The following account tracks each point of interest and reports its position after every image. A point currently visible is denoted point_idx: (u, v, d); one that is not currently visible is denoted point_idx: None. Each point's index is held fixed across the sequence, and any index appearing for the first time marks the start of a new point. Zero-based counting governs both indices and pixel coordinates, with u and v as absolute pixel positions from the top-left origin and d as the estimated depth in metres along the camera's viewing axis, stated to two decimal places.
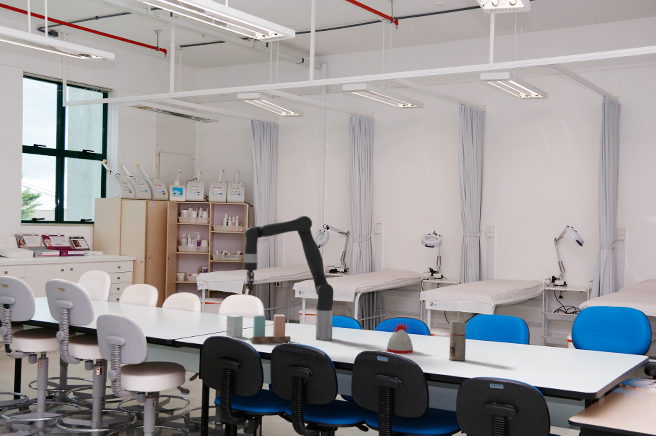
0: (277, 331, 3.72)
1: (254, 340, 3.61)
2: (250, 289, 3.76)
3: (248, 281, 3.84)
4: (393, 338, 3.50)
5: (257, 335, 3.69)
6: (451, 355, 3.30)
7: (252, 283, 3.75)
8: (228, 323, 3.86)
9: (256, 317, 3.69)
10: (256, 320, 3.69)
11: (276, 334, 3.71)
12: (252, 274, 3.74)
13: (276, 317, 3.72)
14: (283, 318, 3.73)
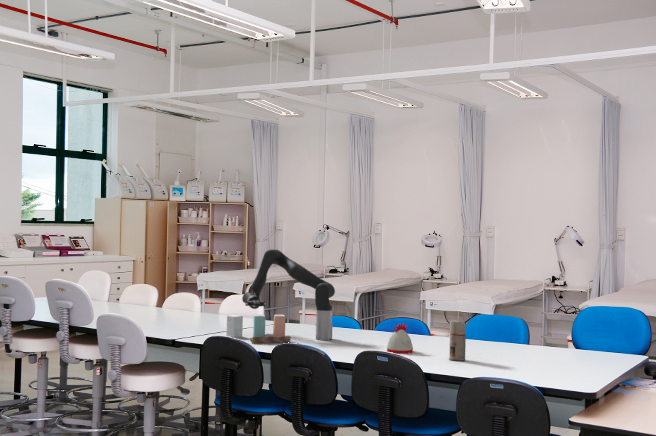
0: (277, 331, 3.72)
1: (254, 340, 3.61)
2: None
3: None
4: (393, 338, 3.50)
5: (257, 335, 3.69)
6: (451, 355, 3.30)
7: (253, 303, 3.85)
8: (228, 323, 3.86)
9: (256, 317, 3.69)
10: (256, 320, 3.69)
11: (276, 334, 3.71)
12: (246, 302, 3.88)
13: (276, 317, 3.72)
14: (283, 318, 3.73)
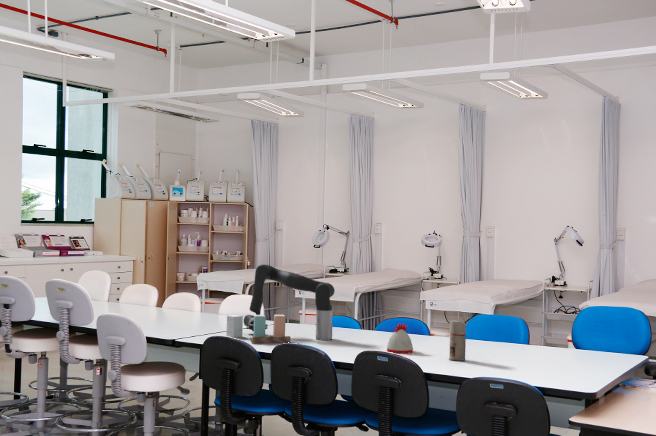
0: (277, 331, 3.72)
1: (254, 340, 3.61)
2: None
3: None
4: (393, 338, 3.50)
5: (257, 335, 3.68)
6: (451, 355, 3.30)
7: None
8: (228, 323, 3.86)
9: (256, 317, 3.68)
10: (256, 320, 3.68)
11: (276, 334, 3.71)
12: (247, 326, 3.80)
13: (276, 317, 3.72)
14: (283, 318, 3.73)
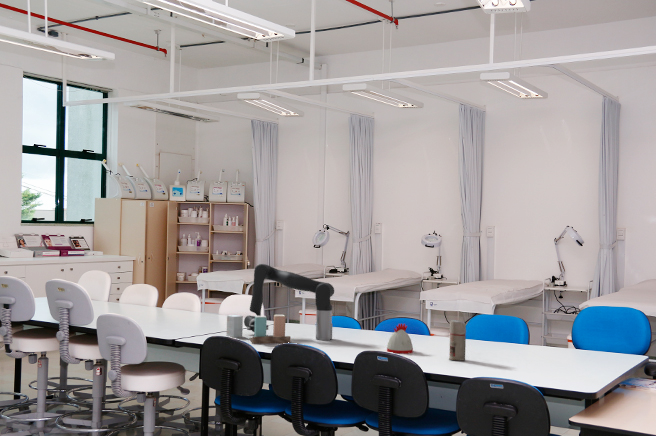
0: (277, 331, 3.72)
1: (254, 340, 3.61)
2: None
3: None
4: (393, 338, 3.50)
5: (258, 336, 3.64)
6: (451, 355, 3.30)
7: None
8: (228, 323, 3.86)
9: (257, 318, 3.64)
10: (257, 321, 3.64)
11: (276, 334, 3.71)
12: (248, 327, 3.76)
13: (276, 317, 3.72)
14: (283, 318, 3.73)
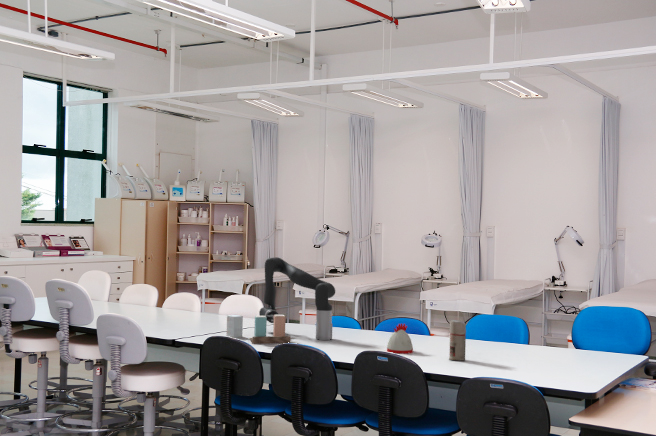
0: (277, 331, 3.72)
1: (254, 340, 3.61)
2: None
3: None
4: (393, 338, 3.50)
5: (258, 336, 3.64)
6: (451, 355, 3.30)
7: (272, 317, 3.87)
8: (228, 323, 3.86)
9: (257, 318, 3.64)
10: (257, 321, 3.64)
11: (276, 334, 3.71)
12: None
13: (276, 317, 3.72)
14: (283, 318, 3.73)
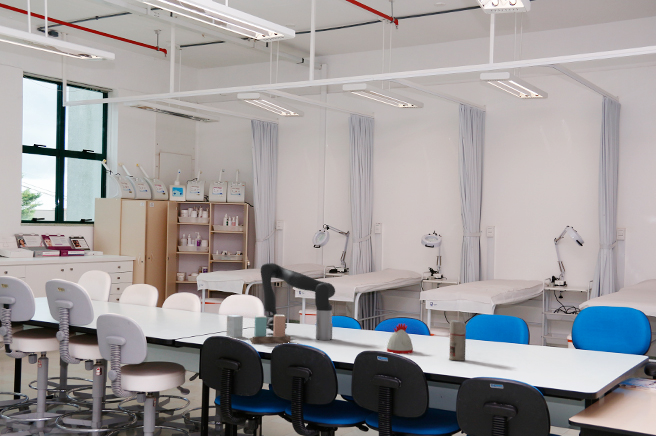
0: (277, 331, 3.71)
1: (254, 340, 3.61)
2: None
3: None
4: (393, 338, 3.50)
5: (258, 336, 3.64)
6: (451, 355, 3.30)
7: None
8: (228, 323, 3.86)
9: (257, 318, 3.64)
10: (257, 321, 3.64)
11: (276, 334, 3.71)
12: (267, 325, 3.83)
13: (276, 317, 3.71)
14: (283, 318, 3.72)
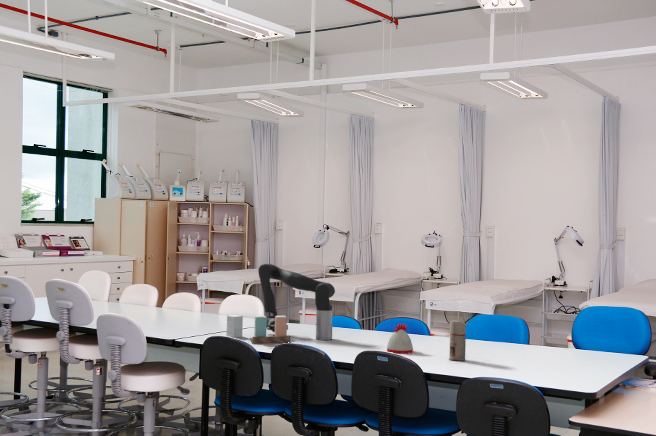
0: (278, 332, 3.67)
1: (254, 340, 3.61)
2: None
3: None
4: (393, 338, 3.50)
5: (258, 336, 3.64)
6: (451, 355, 3.30)
7: None
8: (228, 323, 3.86)
9: (257, 318, 3.64)
10: (257, 321, 3.64)
11: (277, 335, 3.67)
12: (268, 326, 3.79)
13: (277, 318, 3.67)
14: (284, 319, 3.68)
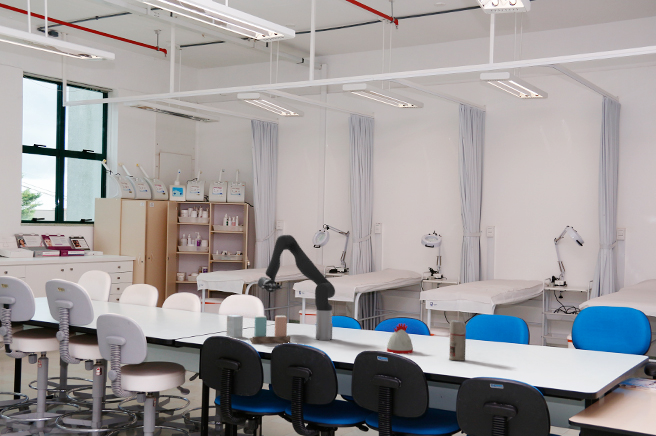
0: (279, 332, 3.67)
1: (254, 340, 3.61)
2: (272, 288, 3.87)
3: None
4: (393, 338, 3.50)
5: (258, 336, 3.64)
6: (451, 355, 3.30)
7: (270, 286, 3.90)
8: (228, 323, 3.86)
9: (257, 318, 3.64)
10: (257, 321, 3.64)
11: (277, 335, 3.67)
12: (262, 286, 3.93)
13: (277, 318, 3.67)
14: (284, 319, 3.68)
